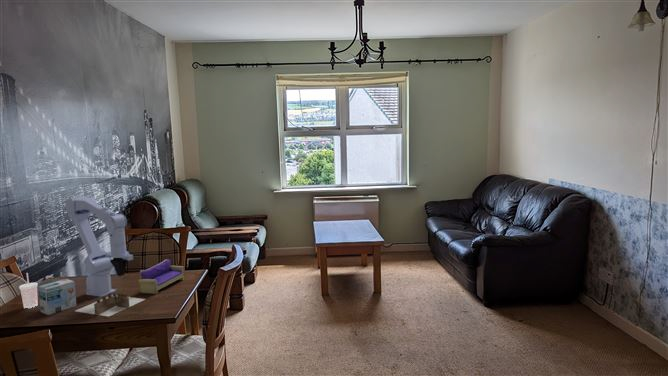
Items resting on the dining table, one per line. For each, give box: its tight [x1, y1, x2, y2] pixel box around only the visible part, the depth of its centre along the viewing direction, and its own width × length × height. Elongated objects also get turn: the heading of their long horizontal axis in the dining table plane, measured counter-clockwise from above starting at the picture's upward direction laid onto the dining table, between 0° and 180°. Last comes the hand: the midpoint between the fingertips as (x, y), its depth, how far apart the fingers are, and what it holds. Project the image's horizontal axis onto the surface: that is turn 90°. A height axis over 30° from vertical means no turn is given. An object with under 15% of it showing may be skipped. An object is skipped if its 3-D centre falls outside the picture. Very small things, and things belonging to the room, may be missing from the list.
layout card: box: [75, 294, 146, 317], centre depth 168 cm, size 18×18×1 cm
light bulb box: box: [37, 278, 77, 316], centre depth 165 cm, size 11×7×11 cm, turn 148°
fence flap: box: [94, 292, 117, 316], centre depth 163 cm, size 10×1×5 cm, turn 164°
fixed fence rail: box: [116, 292, 130, 309], centre depth 166 cm, size 5×1×5 cm, turn 69°
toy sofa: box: [137, 258, 185, 295], centre depth 189 cm, size 21×9×10 cm, turn 165°
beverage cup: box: [18, 272, 39, 309], centre depth 170 cm, size 6×6×14 cm
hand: (120, 275), depth 175 cm, fingers closed
